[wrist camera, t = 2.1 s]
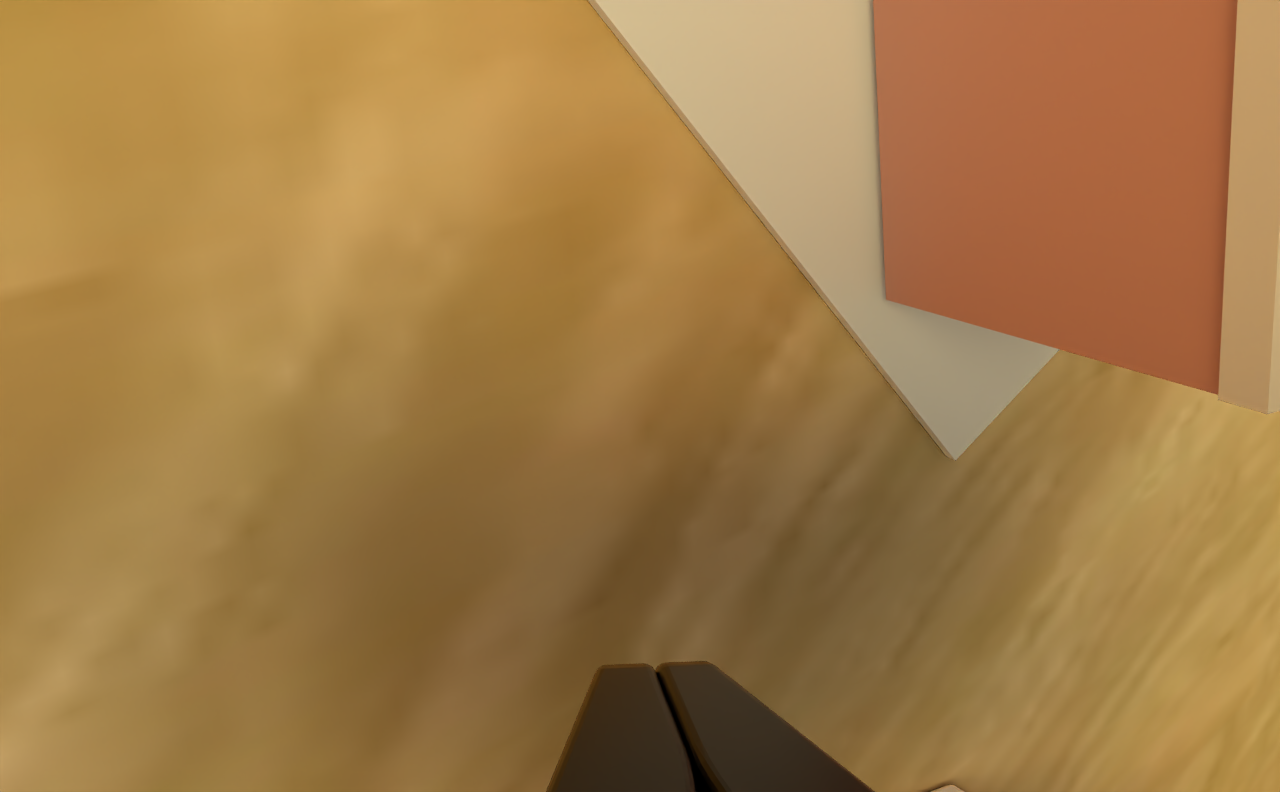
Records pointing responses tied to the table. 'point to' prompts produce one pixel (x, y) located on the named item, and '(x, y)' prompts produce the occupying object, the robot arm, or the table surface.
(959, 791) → the salt shaker
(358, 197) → the table surface
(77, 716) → the table surface
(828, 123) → the card
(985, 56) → the fence panel
